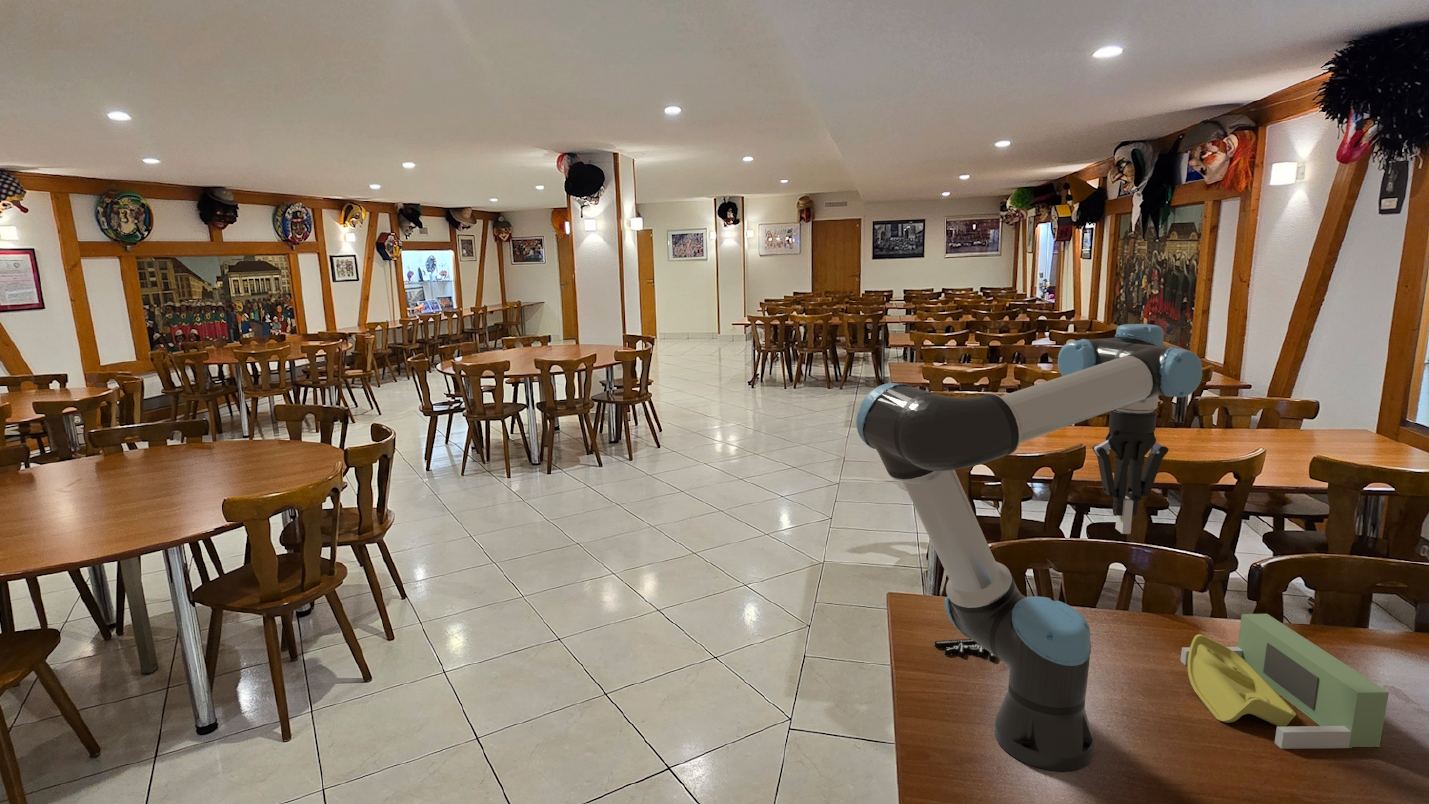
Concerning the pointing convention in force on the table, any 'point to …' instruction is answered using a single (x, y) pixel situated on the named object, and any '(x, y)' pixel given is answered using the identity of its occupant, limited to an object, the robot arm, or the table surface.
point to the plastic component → (1232, 685)
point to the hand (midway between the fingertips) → (1122, 531)
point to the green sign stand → (1311, 687)
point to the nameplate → (963, 648)
